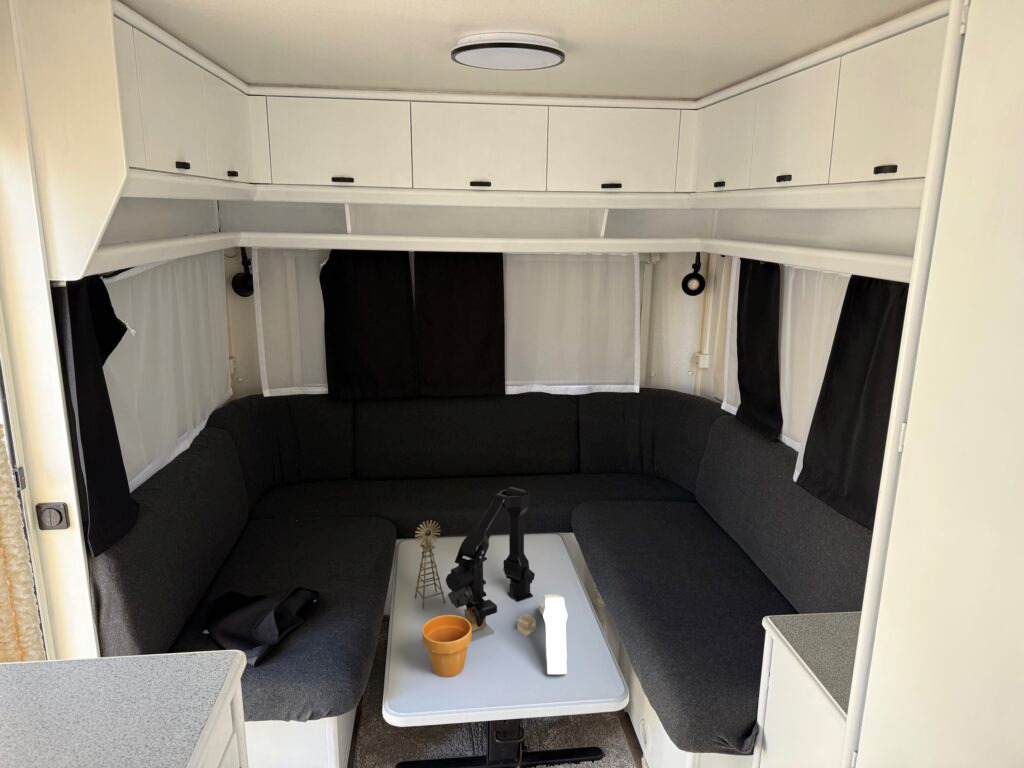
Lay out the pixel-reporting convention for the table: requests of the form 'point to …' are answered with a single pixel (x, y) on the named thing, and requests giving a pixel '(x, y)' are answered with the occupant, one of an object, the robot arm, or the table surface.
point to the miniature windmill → (429, 547)
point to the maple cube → (526, 625)
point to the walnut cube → (473, 619)
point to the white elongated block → (555, 633)
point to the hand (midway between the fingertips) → (475, 622)
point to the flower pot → (447, 643)
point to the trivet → (482, 632)
